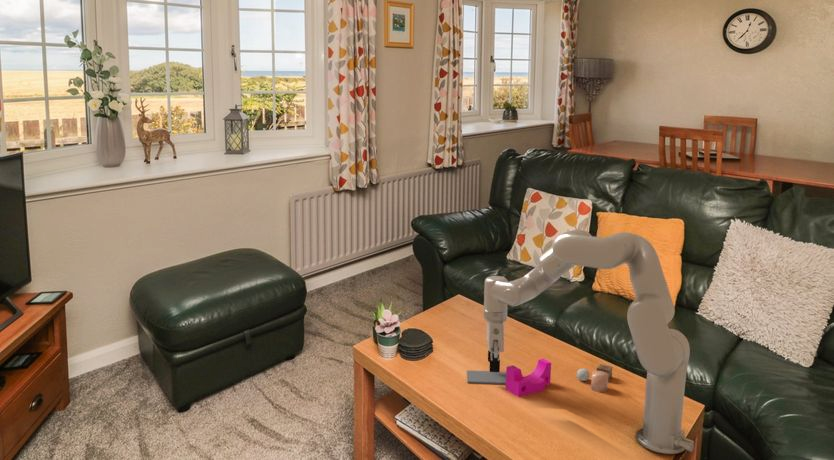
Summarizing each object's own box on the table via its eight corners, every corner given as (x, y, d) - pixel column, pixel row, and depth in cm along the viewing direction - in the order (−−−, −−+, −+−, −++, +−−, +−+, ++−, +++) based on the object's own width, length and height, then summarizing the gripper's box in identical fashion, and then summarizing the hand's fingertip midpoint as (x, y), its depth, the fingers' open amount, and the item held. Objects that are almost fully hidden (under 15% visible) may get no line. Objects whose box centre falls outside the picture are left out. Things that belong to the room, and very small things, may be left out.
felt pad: (517, 373, 193) (517, 372, 193) (520, 385, 184) (520, 383, 184) (466, 372, 194) (466, 370, 194) (467, 383, 185) (467, 381, 185)
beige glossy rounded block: (610, 389, 182) (611, 374, 181) (601, 393, 179) (602, 378, 178) (596, 384, 186) (597, 369, 185) (587, 388, 182) (588, 373, 182)
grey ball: (591, 381, 188) (592, 369, 187) (584, 384, 186) (584, 372, 185) (581, 377, 191) (582, 365, 190) (573, 379, 189) (574, 368, 188)
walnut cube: (611, 378, 191) (612, 366, 190) (608, 382, 187) (609, 370, 187) (599, 375, 193) (600, 364, 192) (595, 379, 189) (596, 367, 189)
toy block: (518, 397, 176) (519, 373, 175) (505, 389, 181) (506, 366, 180) (555, 387, 183) (556, 365, 182) (542, 380, 188) (543, 358, 187)
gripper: (509, 323, 177) (507, 377, 180) (504, 307, 194) (502, 357, 197) (485, 322, 177) (483, 376, 180) (482, 306, 195) (480, 356, 197)
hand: (493, 366), depth 188 cm, fingers open, 8 cm apart
